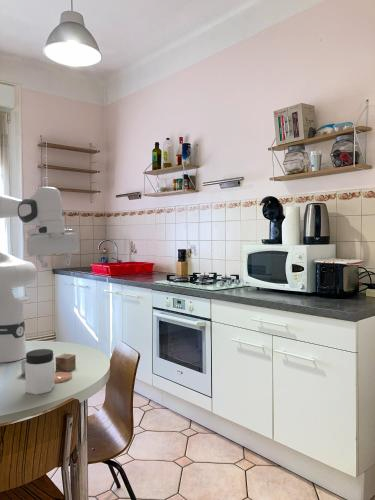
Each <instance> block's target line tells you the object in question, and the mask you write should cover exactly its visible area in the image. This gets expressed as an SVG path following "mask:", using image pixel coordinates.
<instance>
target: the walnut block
mask: <svg viewBox="0 0 375 500" xmlns="http://www.w3.org/2000/svg"><path fill="white" fill-rule="evenodd" d="M54 360H55V371H56V372H68V373H70V371H73V370H75V369H76V368H77V367H76V365H77V364H76V354H71V353H70V354H69V353H62V354H60V355H57V356H55V358H54Z"/></svg>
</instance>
